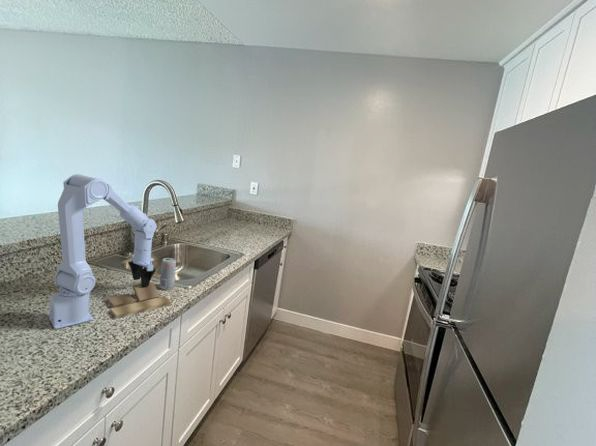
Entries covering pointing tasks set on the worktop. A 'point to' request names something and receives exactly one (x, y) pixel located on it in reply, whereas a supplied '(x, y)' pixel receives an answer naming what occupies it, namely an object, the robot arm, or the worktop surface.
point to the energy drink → (168, 273)
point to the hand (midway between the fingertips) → (140, 282)
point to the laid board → (139, 307)
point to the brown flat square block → (121, 300)
